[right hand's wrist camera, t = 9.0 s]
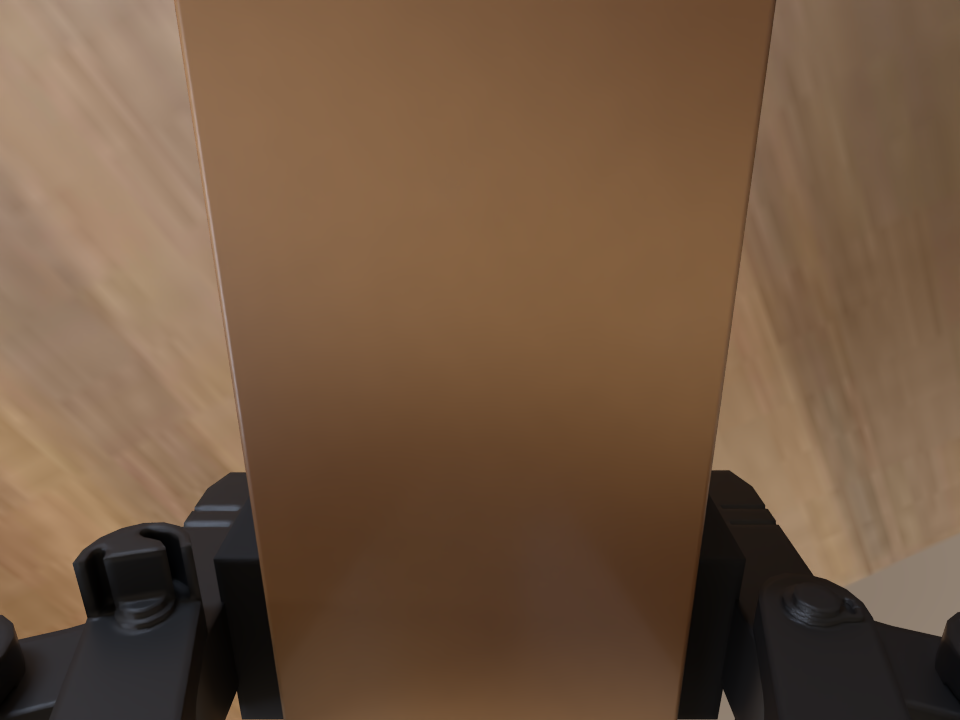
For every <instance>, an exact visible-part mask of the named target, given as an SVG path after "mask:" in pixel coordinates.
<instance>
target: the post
mask: <svg viewBox="0 0 960 720" xmlns="http://www.w3.org/2000/svg"><path fill="white" fill-rule="evenodd" d="M174 3H175V10H176V16H177V23H178V29H179V36H180V42H181V49H182V55H183V62H184V69H185V75H186V82H187V88H188V95H189V101H190V108H191V115H192V121H193V128H194V134H195V141H196V147H197V154H198V160H199V167H200V174H201V180H202V187H203V193H204V200H205V206H206V213H207V220H208V226H209V233H210V239H211V246H212V252H213V259H214V265H215V272H216V279H217V285H218V292H219V298H220V305H221V311H222V318H223V325H224V331H225V338H226V344H227V351H228V357H229V364H230V370H231V377H232V384H233V390H234V397H235V403H236V410H237V416H238V423H239V430H240V436H241V443H242V449H243V456H244V462H245V469H246V475H247V482H248V489H249V495H250V502H251V508H252V515H253V521H254V528H255V535H256V541H257V548H258V554H259V561H260V567H261V574H262V580H263V587H264V594H265V600H266V607H267V613H268V620H269V626H270V633H271V640H272V646H273V653H274V659H275V666H276V672H277V679H278V685H279V692H280V699H281V705H282V712H283V718H284V720H677V718H678V710H679V703H680V696H681V688H682V681H683V674H684V667H685V659H686V652H687V645H688V638H689V630H690V623H691V616H692V608H693V601H694V594H695V587H696V579H697V572H698V565H699V557H700V550H701V543H702V536H703V528H704V521H705V514H706V507H707V499H708V492H709V485H710V477H711V470H712V463H713V456H714V448H715V441H716V434H717V427H718V419H719V412H720V405H721V397H722V390H723V383H724V376H725V368H726V361H727V354H728V346H729V339H730V332H731V325H732V317H733V310H734V303H735V296H736V288H737V281H738V274H739V266H740V259H741V252H742V245H743V237H744V230H745V223H746V215H747V208H748V201H749V194H750V186H751V179H752V172H753V165H754V157H755V150H756V143H757V135H758V128H759V121H760V114H761V106H762V99H763V92H764V85H765V77H766V70H767V63H768V55H769V48H770V41H771V34H772V26H773V19H774V12H775V4H776V0H174Z"/></svg>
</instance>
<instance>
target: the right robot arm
mask: <svg viewBox="0 0 960 720" xmlns="http://www.w3.org/2000/svg"><path fill="white" fill-rule="evenodd" d="M73 567H74V571H75V574H76V578H77V581H78V585H79V589H80V592H81V596H82V600H83V603H84V607H85V610H86V614H87V621H86V623H85V624H82V625H79V626H75V627H72V628H68V629H64V630H60V631H55V632H51V633H46V634H42V635H37V636H33V637H28V638H24V639H20V640H18V637H17V634H16V631H15V628H14V625H13V623H12V622H10V621H9V620H8V619H7V618H5V617H4V616H3V615H0V720H225V719H226V716H227V714H228V711H229V709H230V707H231V704H232V702H233V699H234V697H235V694H236V692H237V694H238V699H239V705H240V711H241V716H242V719H284V718H283V712H282V705H281V699H280V692H279V685H278V679H277V672H276V666H275V659H274V653H273V646H272V640H271V633H270V626H269V620H268V613H267V607H266V600H265V594H264V587H263V580H262V574H261V567H260V561H259V554H258V548H257V541H256V535H255V528H254V521H253V515H252V508H251V502H250V495H249V489H248V482H247V475H246V472H230V473H229V474H228V475H226V476H225V477H223V478H222V479H220V480H219V481H218V482H216V483H215V484H213V485H212V486H211V487H209V488H208V489H207V490H206V492H205V493H204V495H203V496H202V497H201V499H200V500H199V502H198V503H197V505H196V506H195V511H192V512H191V514H190V515H189V516H188V518H187V519H186V521H185V522H184V527H180V526H177V525H172V524H168V523H164V522H161V523H142V524H138V525H134V526H129V527H125V528H121V529H119V530H117V531H114V532H112V533H110V534H107V535H105V536H103V537H101V538H99V539H98V540H96V541H95V542H93V543H92V544H91V545H89V546H88V547H86V548H85V549H84V550H83V551H82V552H81V553H80V555H79V556H78V557H77V558H76V560H75V561H74V562H73ZM723 690H724V692H725V695H726V697H727V700H728V702H729V705H730V707H731V709H732V712H733V714H734V717H735V720H960V612H958V613H956V614H955V615H954V616H953V617H951V618H950V619H949V620H948V621H947V623H946V626H945V629H944V633H943V635H942V637H939V636H935V635H930V634H926V633H921V632H917V631H912V630H908V629H903V628H899V627H894V626H891V625H887V624H884V623H880V622H877V621H874V620H873V617H872V616H871V614H870V613H869V611H868V610H867V608H866V607H865V605H864V604H863V602H861V601H860V600H859V599H858V598H856V597H855V596H854V595H853V594H852V593H850V592H849V591H848V590H847V589H845V588H843V587H841V586H839V585H837V584H835V583H833V582H831V581H829V580H827V579H823V578H819V577H815V576H814V575H813V574H812V573H811V571H810V570H809V568H808V567H807V565H806V564H805V562H804V561H803V559H802V558H801V557H800V555H799V554H798V552H797V551H796V549H795V548H794V546H793V545H792V544H791V542H790V541H789V539H788V538H787V536H786V535H785V533H784V532H783V530H782V529H781V528H780V526H779V525H776V520H775V519H774V517H773V516H772V514H771V513H770V512H769V510H768V509H765V504H764V503H763V501H762V500H761V499H760V497H759V496H758V494H757V493H756V491H755V490H754V488H753V487H752V486H751V485H749V484H748V483H747V482H745V481H744V480H742V479H741V478H739V477H738V476H737V475H735V474H734V473H732V472H731V471H729V470H711V477H710V485H709V492H708V499H707V507H706V514H705V521H704V528H703V536H702V543H701V550H700V557H699V565H698V572H697V579H696V587H695V594H694V601H693V608H692V616H691V623H690V630H689V638H688V645H687V652H686V659H685V667H684V674H683V681H682V688H681V696H680V703H679V710H678V718H677V719H718V713H719V707H720V702H721V697H722V691H723Z"/></svg>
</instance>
